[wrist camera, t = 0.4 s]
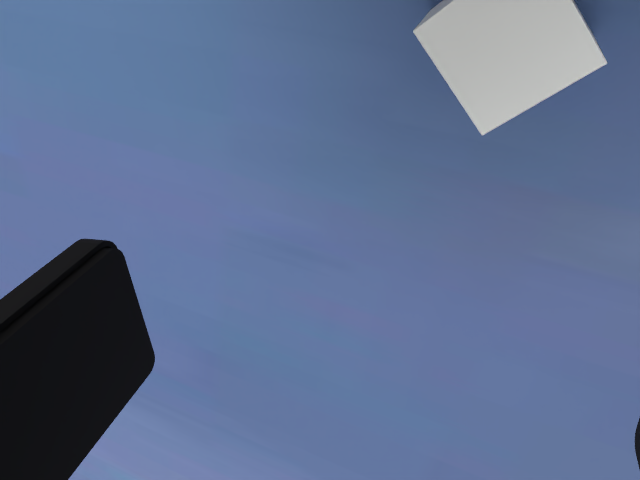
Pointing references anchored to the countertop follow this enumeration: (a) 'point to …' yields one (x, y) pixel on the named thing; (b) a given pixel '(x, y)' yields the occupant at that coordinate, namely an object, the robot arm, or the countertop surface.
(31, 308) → the robot arm
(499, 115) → the grey cube
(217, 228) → the countertop surface
